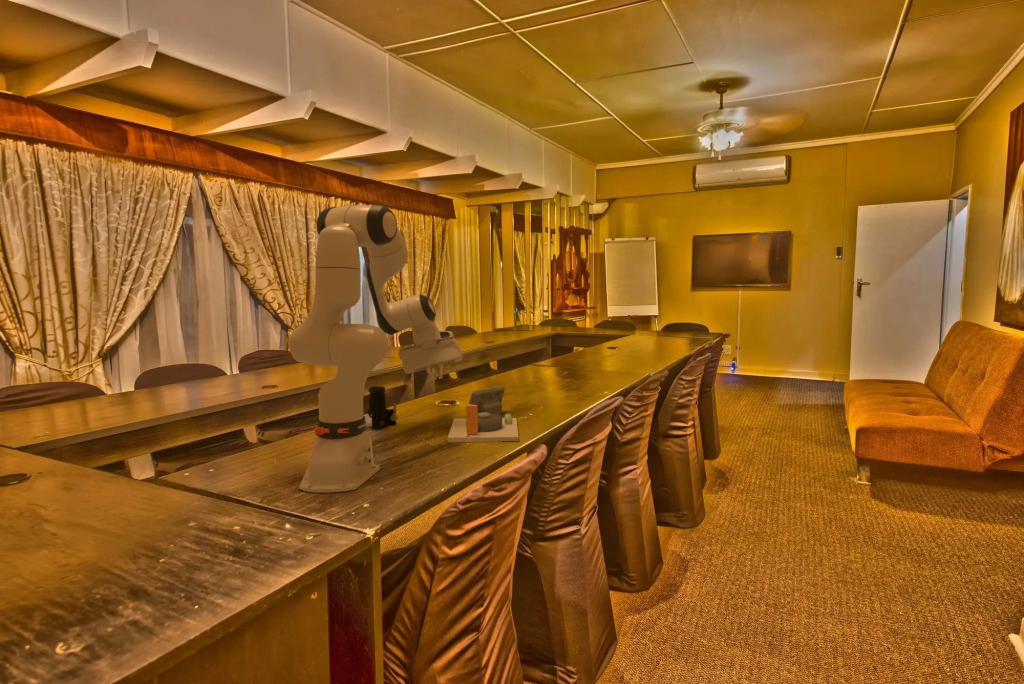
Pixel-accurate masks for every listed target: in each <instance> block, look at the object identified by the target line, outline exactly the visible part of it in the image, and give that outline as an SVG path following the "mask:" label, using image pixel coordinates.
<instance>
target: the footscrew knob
mask: <svg viewBox="0 0 1024 684" xmlns="http://www.w3.org/2000/svg"><path fill="white" fill-rule="evenodd" d="M465 413H466V417H465V418H466V428H467V434H477V433H478V432H479V431H492V430H497V429H500V428H501V427H502V418H503V415H498V414H492V413H486V412H483V413H478V405H471V404H469V403H468V404H467V405H465Z"/></svg>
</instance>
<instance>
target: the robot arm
mask: <svg viewBox="0 0 1024 684" xmlns="http://www.w3.org/2000/svg"><path fill="white" fill-rule="evenodd" d="M316 232H317V234H318V239H317V242H316V244H317V245H316V250H315V252H316V253H315V269H314V271H315V273H314V274H315V279H314V280H315V282H314V284H315V285H314V296H313V297H314V298H313V301H312V302H313V303H312V306H311V309H310V311H309V312H308V314H307V316H306V317H305V318H304V320H303V321H302V322H301V323H300V324H299V325H298V326H296V327H295V328H294V329H293V331H292V332H291V334H290V337H289V340H288V349H289V352H290V355H291V356H292V358H293V359H294V360H295V361H296V362H299V363H303V364H306V365H311V366H320V367H321V366H322V367H323V366H327V367H328V366H329V367H331V366H332V367H336V368H337V370H336V371H337V372H336V375H335V378H332V379H331V380H329V381H327V382H326V383H324V384H323V385H322V386H321V387H320V389H319V391H318V394H317V396H318V418H319V419H318V420H317V425H316V427H315V428H314V434H315V436H317V437H316V438H315V440H314V443H313V447H312V451H311V454H310V458H309V462H308V466H307V468H306V471H305V473H304V474H303V477H302V478H301V482H300V484H299V487H298V489H300V490H299V491H301V490H303V491H302V492H306V491H307V492H306V493H323V494H324V493H340V492H341V493H342V492H349V491H355V490H357V489H358V488H360V487H361V486H362V485H363V484H364V483H365V482H367V481H368V480H369V479H371V478H372V477H373V476H374V475H375V474H377V473H378V472H379V471H380V465H378V464H375V463H374V452H373V451H374V449H373V442H372V441H373V440H372V438H371V437H370V436H369V435H368V434H367V433H366V429H367V428H366V424H367V421H366V416H364V395H365V393H364V391H365V385H366V382H367V379H368V377H369V376H370V374H371V372H372V371H373V370H374V369H375V368H376V367H377V366H378V365H379V364H381V363H382V362H383V361H384V360H385V358H386V356H387V354H388V351H389V339H388V337H387V335H389V336H392V335H395V334H398V333H400V332H402V331H405V330H409V329H412V337H413V343H412V344H410V345H405V346H402V347H401V348H400V349H399V350H398V356H399V357H398V358H399V359H400V360H401V362H402V369H403V372H404V373H405V374H406V375H410V374H413V373H418V372H422V371H425V370H426V373H427V374H429V376H430V377H431V379H432V381H437V380H441V379H443V378H444V377H443V372H444V366H445V365H448V364H454V363H457V362H460V361H462V360H463V358H464V354H463V351H462V348H461V346H460V344H459V341H458V340H457V339H455V337H454V333H453V331H451V330H450V331H449V330H439V328H438V326H437V324H436V317H437V314H436V310H435V306H434V304H433V303H434V302H433V301H432V299H431V298H430V297H428V296H427V295H424V294H421V293H420V294H412V295H411V296H409V297H405V298H403V299H400V300H397V301H393V302H388V301H387V299H386V295H385V291H384V285H385V284H386V283H387V282H388V281H389V280H390V279H392V278H393V277H395V276H396V275H397V274H399V273H400V272H401V271H402V270H404V269H403V268H405V266H406V264H407V262H408V259H409V252H408V248H407V244H406V242H405V239H404V237H403V235H402V233H401V231H400V229H399V227H398V222H397V218H396V215H395V214H394V212H393V211H392V210H391V209H390V208H388V207H387V206H385V205H381V204H373V205H370V204H369V205H365V204H347V205H341V206H340V205H339V206H331V207H328V208H325V209H323V210H322V211H320V213H319V215H318V217H317V219H316ZM360 248H366V250H367V252H368V255H369V257H370V261H369V264H368V265H367V266H366V270H365V271H366V280H367V284H368V288H369V293H370V296H371V300H372V303H373V307H374V310H375V317H376V322H377V325H378V326H374V325H370V324H366V323H342V317H343V315H344V313H345V312H346V311H347V310H348V309H351V308H352V307H354V306H356V305H357V304H358V302H359V301H360V299H361V293H362V292H361V291H362V289H361V287H362V285H361V283H362V282H361V281H362V280H361V279H362V278H361V273H362V272H361V256H360ZM437 367H438V369H439V372H437V373H433V372H432V368H437Z"/></svg>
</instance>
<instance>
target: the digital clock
mask: <svg viewBox="0 0 1024 684" xmlns="http://www.w3.org/2000/svg"><path fill="white" fill-rule="evenodd" d="M505 388H506V387H505V386H504V385H498V386H493V387H488V388H482V389H477V390H473V391H472V392H471V394H470V398H469V401H468V402H469V403H468V405H469V404H471V405H478V413H483V412H486V413H492V414H498V415H501V416H503V405H502V403H503V402H502V401H503V397H504V393H505Z"/></svg>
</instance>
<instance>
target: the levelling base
mask: <svg viewBox="0 0 1024 684" xmlns="http://www.w3.org/2000/svg"><path fill="white" fill-rule="evenodd" d="M502 441H518V442H519V430H518V421H517V417H512V414H511V413H508V412H507V413H506V414H504V417H502V427H501V428H500V429H497V430H492V431H479V432H478V433H477V434H467V428H466V417H465V418H463V417H462V418H459V417H458V418H457V417H456V418H453V421H452V423H451V426H450V430H449V433H448V436H447V443H503V442H502Z"/></svg>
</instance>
